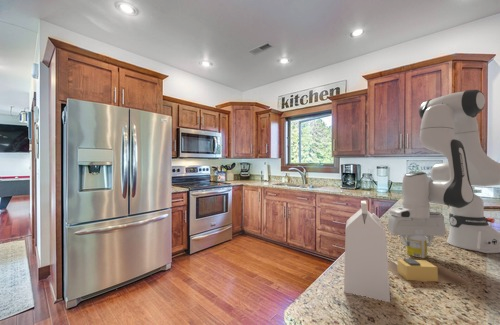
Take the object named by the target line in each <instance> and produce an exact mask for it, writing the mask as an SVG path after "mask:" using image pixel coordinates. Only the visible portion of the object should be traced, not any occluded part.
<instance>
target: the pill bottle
mask: <svg viewBox="0 0 500 325" xmlns="http://www.w3.org/2000/svg"><path fill="white" fill-rule="evenodd" d="M415 233H416V234H417V235H407V238H406V240H407V241H408V242H410V244H409V245H410V246H406V253H407V255H409V256H411V257H414V258H419V259H420V258H421V259H425V258H428V247H427V237H426V236H423V235H422V234H423V230H415Z"/></svg>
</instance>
